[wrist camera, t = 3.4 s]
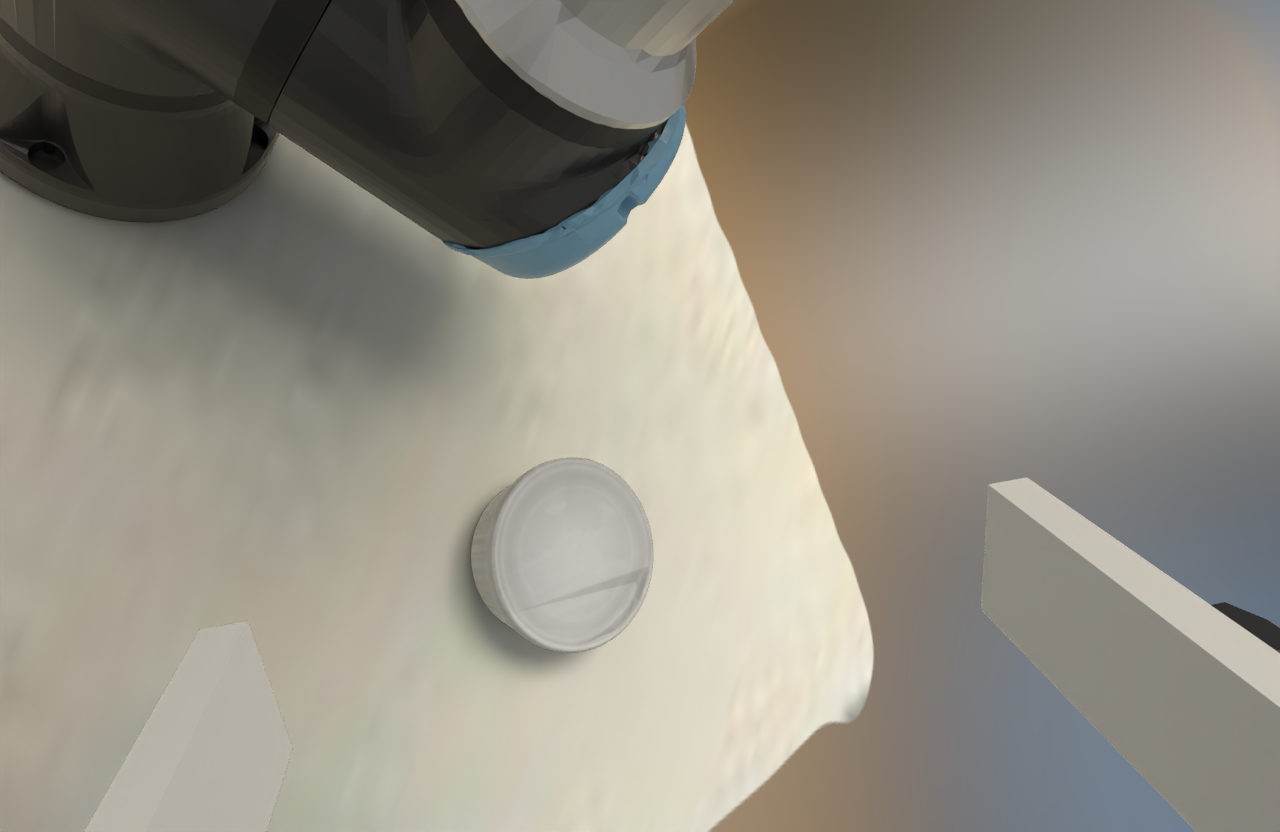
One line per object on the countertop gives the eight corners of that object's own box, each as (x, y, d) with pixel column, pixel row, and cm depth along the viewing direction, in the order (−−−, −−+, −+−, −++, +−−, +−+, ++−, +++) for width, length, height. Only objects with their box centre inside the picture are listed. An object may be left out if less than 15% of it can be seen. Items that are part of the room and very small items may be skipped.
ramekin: (537, 684, 50) (581, 694, 46) (415, 558, 47) (451, 555, 43) (637, 553, 56) (684, 550, 52) (535, 433, 53) (577, 420, 49)
